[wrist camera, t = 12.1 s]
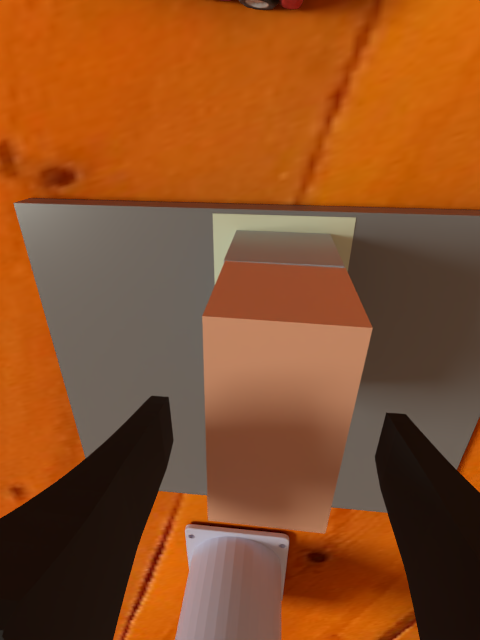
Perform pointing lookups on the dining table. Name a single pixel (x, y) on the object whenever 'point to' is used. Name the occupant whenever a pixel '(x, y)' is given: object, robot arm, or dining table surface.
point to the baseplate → (194, 293)
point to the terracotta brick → (279, 391)
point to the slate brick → (284, 248)
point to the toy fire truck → (270, 4)
